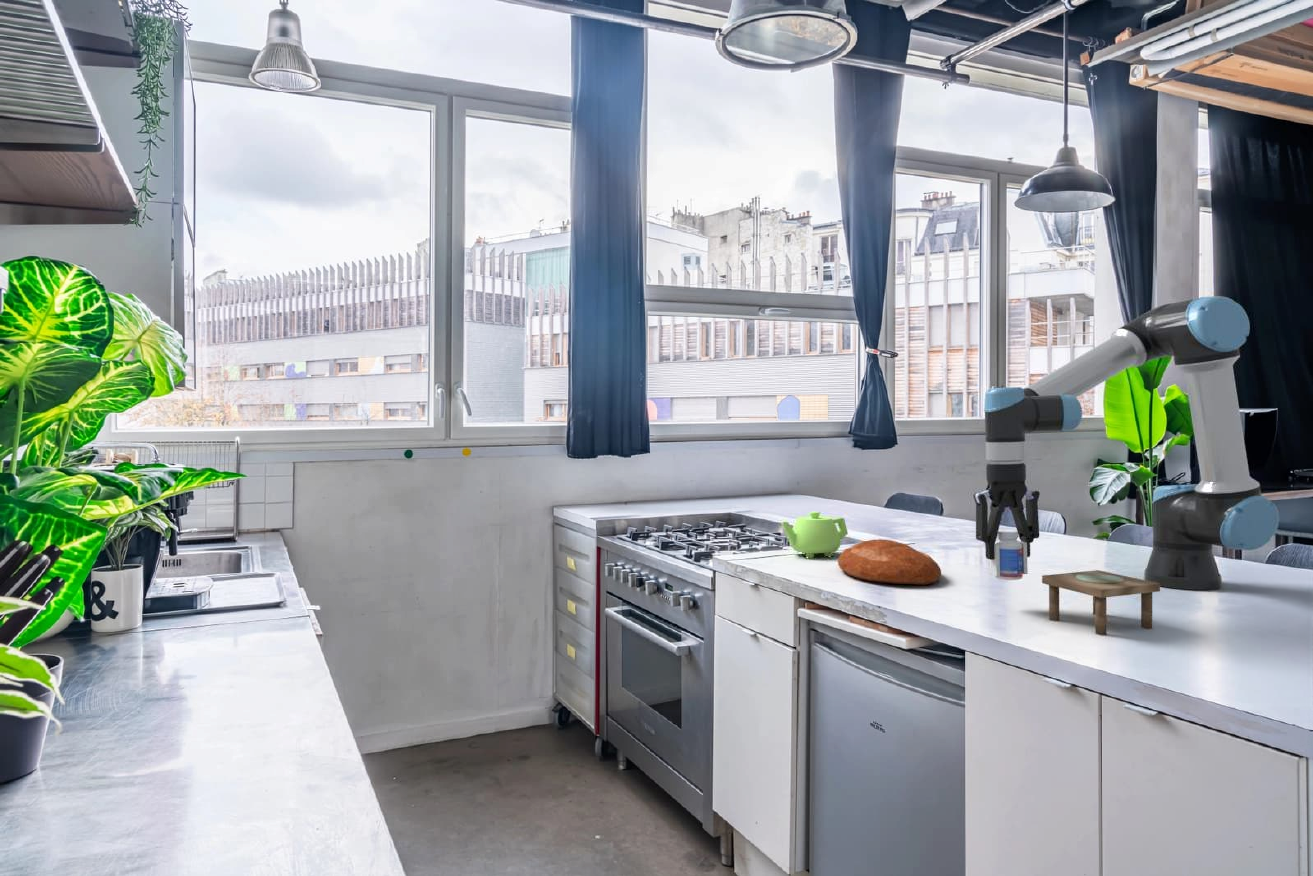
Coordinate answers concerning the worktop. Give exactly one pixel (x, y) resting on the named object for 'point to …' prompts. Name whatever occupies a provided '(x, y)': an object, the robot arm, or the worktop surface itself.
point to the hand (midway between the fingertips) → (1008, 573)
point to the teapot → (816, 534)
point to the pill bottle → (1009, 555)
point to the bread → (889, 563)
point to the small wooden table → (1101, 593)
